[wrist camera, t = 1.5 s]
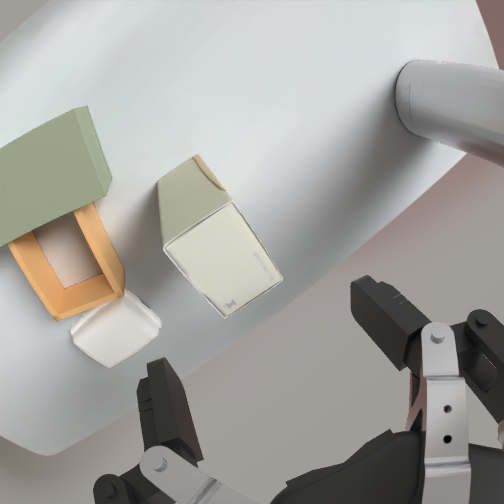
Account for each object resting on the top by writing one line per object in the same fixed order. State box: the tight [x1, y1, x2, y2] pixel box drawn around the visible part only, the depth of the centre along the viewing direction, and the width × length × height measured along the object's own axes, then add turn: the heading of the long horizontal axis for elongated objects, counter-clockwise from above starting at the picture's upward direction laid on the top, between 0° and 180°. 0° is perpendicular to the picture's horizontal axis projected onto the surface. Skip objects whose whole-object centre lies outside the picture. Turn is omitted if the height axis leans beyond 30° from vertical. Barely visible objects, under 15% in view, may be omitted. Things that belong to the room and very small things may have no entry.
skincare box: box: [157, 155, 283, 319], centre depth 22 cm, size 6×4×12 cm
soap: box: [70, 288, 162, 368], centre depth 29 cm, size 9×7×3 cm
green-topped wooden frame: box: [0, 106, 125, 322], centre depth 21 cm, size 12×15×5 cm
